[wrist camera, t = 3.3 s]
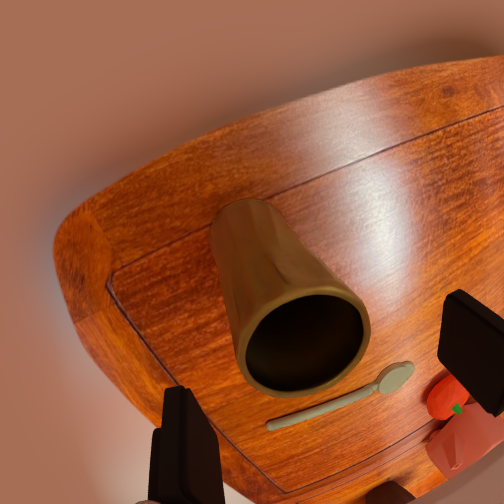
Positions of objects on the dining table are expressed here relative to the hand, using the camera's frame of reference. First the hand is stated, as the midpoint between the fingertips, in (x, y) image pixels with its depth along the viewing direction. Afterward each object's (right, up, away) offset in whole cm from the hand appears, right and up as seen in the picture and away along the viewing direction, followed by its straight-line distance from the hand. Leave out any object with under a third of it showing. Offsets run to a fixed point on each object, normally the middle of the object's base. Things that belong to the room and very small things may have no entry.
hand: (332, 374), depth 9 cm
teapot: (+36, -28, +33) cm, 56 cm away
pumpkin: (+25, -16, +27) cm, 40 cm away
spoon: (+8, -13, +23) cm, 28 cm away
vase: (-3, +5, +15) cm, 16 cm away
